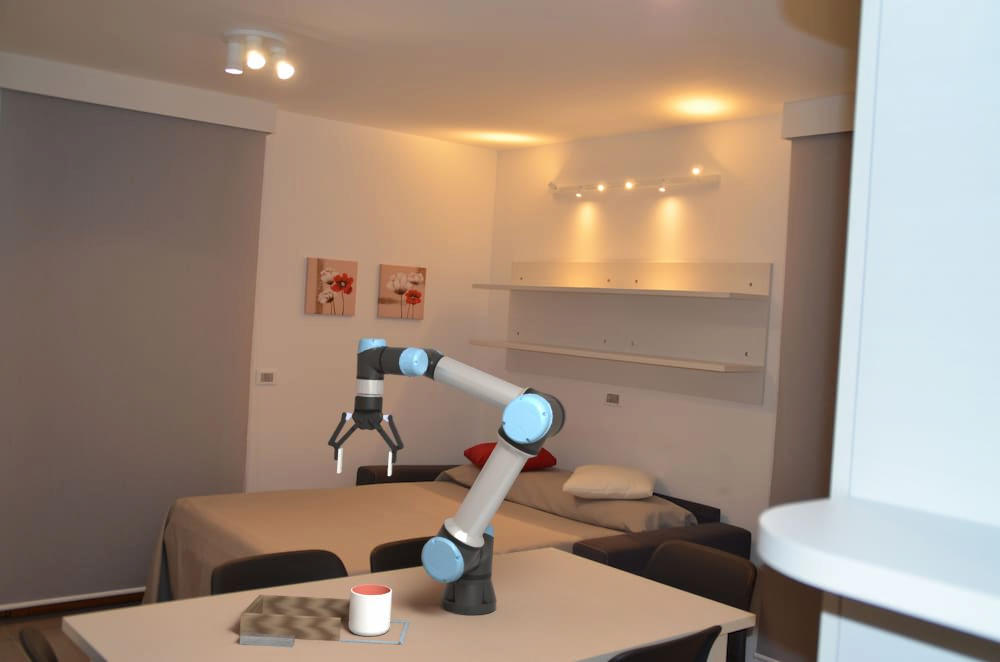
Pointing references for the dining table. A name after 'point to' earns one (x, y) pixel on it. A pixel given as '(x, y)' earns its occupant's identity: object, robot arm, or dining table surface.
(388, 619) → the cup
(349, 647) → the dining table surface
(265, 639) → the hook bar
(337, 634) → the cubby
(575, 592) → the dining table surface
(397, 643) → the pale blue bent rod
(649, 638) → the dining table surface
